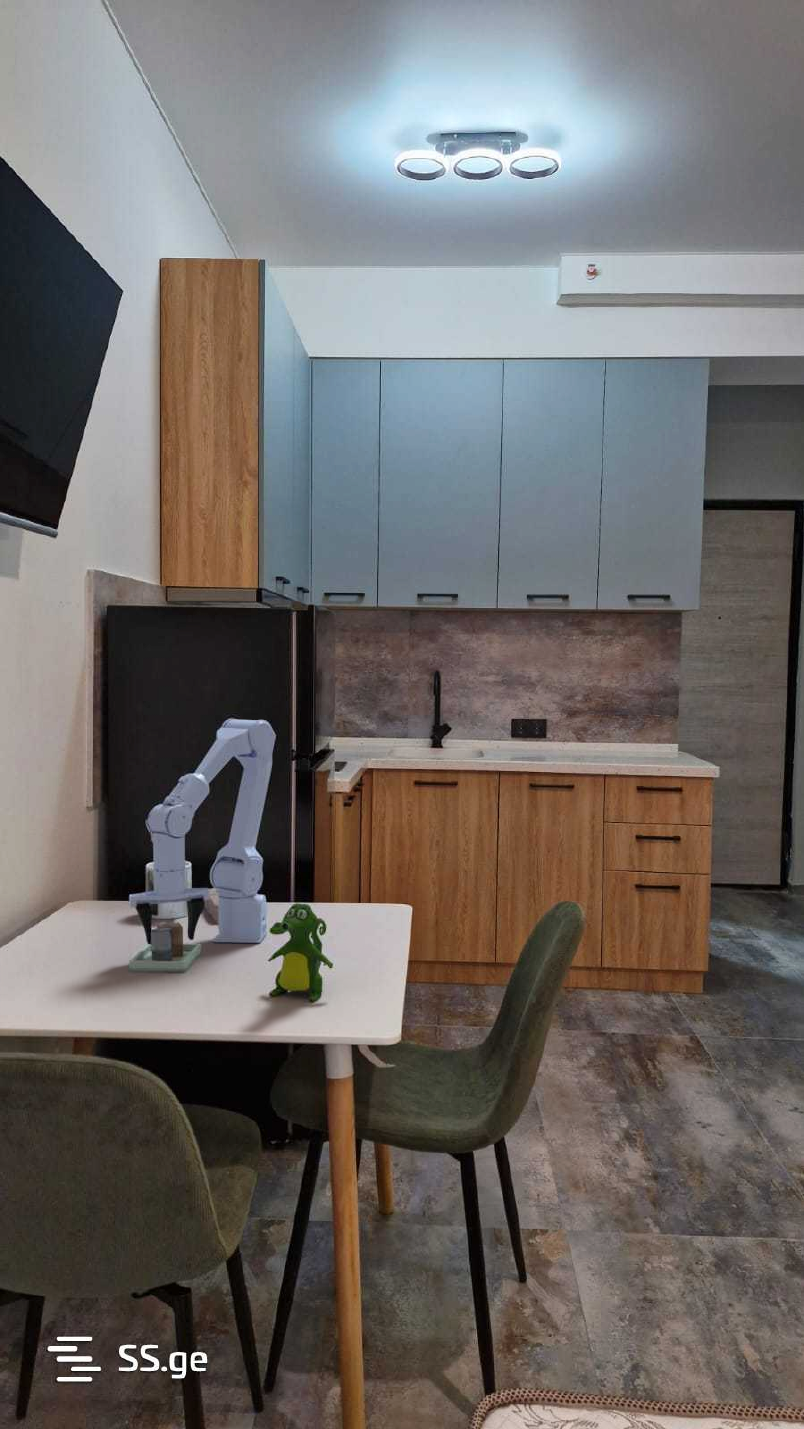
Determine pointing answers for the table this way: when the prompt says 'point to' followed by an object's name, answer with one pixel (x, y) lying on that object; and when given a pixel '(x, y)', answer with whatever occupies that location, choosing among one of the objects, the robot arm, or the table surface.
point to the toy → (300, 952)
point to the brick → (212, 904)
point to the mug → (171, 908)
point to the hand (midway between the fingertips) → (170, 940)
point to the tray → (178, 964)
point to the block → (175, 937)
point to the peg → (161, 944)
